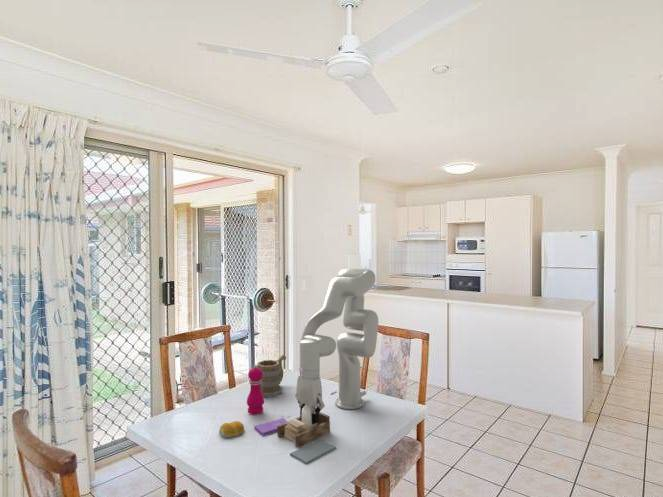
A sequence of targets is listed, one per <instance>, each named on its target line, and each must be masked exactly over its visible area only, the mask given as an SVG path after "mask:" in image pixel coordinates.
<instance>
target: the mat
mask: <svg viewBox="0 0 663 497" xmlns="http://www.w3.org/2000/svg"><path fill="white" fill-rule="evenodd" d="M335 449H337V446H336V445H334V444H331V443H330V442H328V441H326V440H324V439H322V438H317V440H316V439H315V440H313V441H311V442H309V443H307V444H305V445H303V446H301V447H299V448H298V449H296V450H294V451H292V452H290V454H289V455H290V456H291V457H293V458H295V459H296V460H298V461H300V462H301V463H303V464H305V465H308V464H309V463H311V462H313V461H315V460H317V459H318V458H320V457H322V456H324V455H326V454H327V453H328V454H329V453H330V452H332V451H333V450H335Z"/></svg>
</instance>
